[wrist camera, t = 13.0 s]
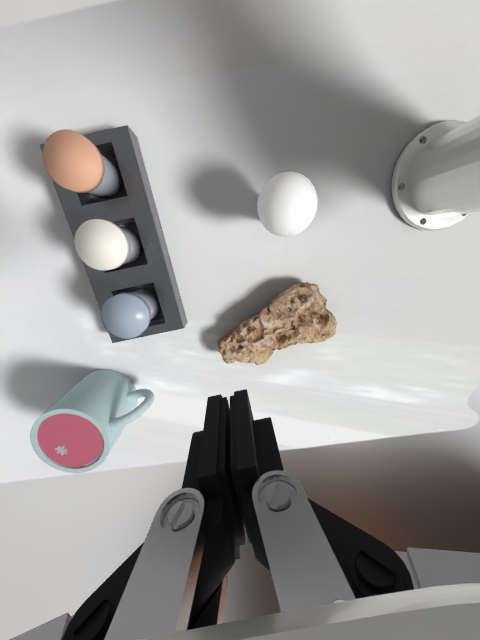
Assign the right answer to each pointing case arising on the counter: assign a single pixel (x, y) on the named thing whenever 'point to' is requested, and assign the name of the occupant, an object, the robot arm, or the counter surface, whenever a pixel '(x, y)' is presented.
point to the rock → (280, 326)
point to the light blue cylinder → (129, 313)
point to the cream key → (106, 244)
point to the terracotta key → (79, 165)
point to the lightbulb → (287, 203)
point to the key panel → (125, 211)
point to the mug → (87, 421)
